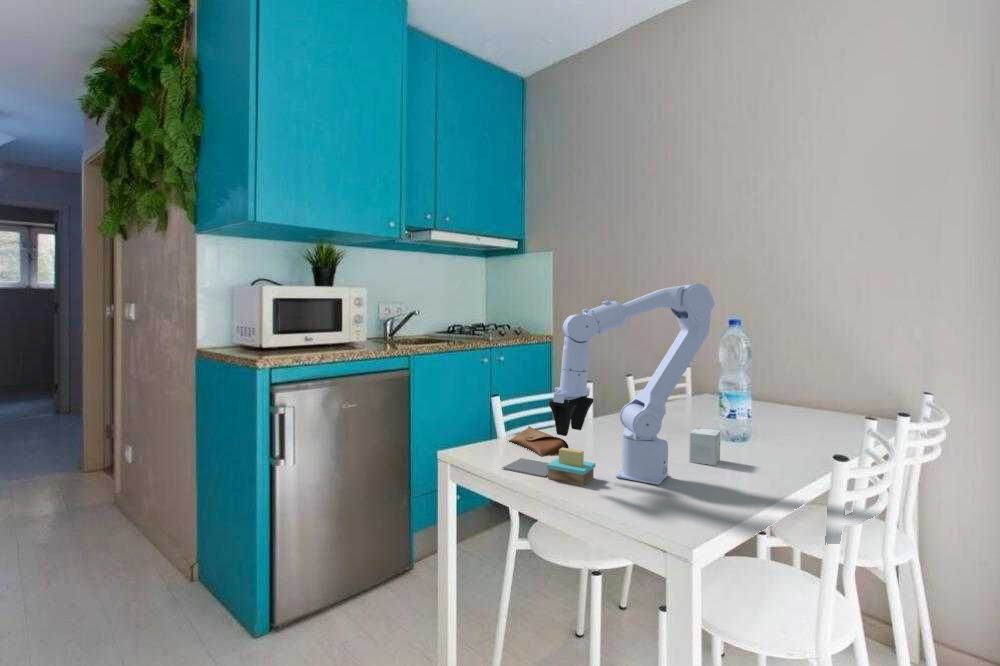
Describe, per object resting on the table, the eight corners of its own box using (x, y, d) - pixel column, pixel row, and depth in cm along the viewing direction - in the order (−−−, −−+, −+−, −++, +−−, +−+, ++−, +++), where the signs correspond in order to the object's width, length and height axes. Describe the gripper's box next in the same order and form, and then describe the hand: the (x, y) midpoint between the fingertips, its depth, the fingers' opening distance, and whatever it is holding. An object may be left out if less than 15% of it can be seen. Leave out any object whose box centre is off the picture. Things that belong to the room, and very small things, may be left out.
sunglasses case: (504, 440, 146) (515, 418, 148) (522, 450, 150) (533, 429, 151) (542, 457, 131) (554, 432, 132) (561, 467, 134) (572, 443, 136)
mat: (562, 466, 123) (562, 465, 123) (545, 477, 116) (545, 476, 116) (521, 459, 129) (521, 458, 129) (501, 468, 121) (501, 467, 121)
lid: (595, 466, 116) (595, 449, 115) (583, 475, 110) (583, 456, 110) (559, 460, 120) (559, 443, 120) (546, 468, 115) (546, 450, 114)
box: (593, 477, 116) (593, 466, 116) (582, 485, 111) (582, 474, 110) (559, 471, 120) (560, 461, 120) (548, 478, 115) (548, 467, 115)
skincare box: (715, 466, 125) (716, 435, 124) (688, 462, 128) (689, 432, 127) (720, 460, 130) (721, 430, 129) (694, 456, 133) (695, 427, 133)
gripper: (571, 365, 123) (566, 423, 123) (542, 369, 110) (537, 433, 111) (600, 369, 119) (595, 429, 120) (573, 373, 107) (568, 440, 107)
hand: (569, 432), depth 115 cm, fingers open, 7 cm apart
